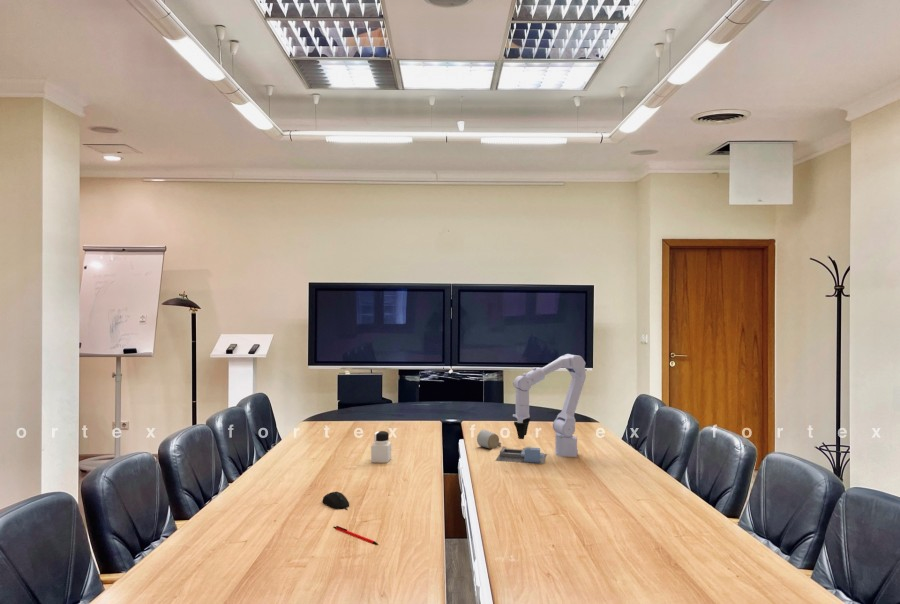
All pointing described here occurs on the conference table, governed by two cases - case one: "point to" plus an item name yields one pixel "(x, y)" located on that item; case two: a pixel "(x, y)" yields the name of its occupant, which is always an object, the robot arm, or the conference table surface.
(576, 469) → the conference table surface
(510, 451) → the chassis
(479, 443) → the ceramic mug
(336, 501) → the gaming mouse
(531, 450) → the servo
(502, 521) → the conference table surface
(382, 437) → the medicine bottle
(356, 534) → the pen
